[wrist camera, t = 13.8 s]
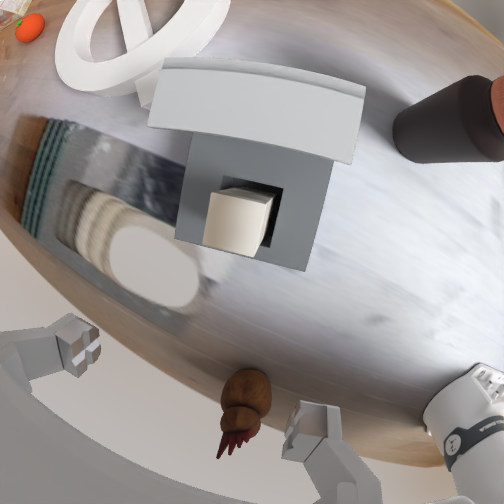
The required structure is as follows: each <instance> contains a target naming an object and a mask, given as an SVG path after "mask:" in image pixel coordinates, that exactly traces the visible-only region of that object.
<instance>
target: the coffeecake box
mask: <svg viewBox="0 0 504 504" xmlns="http://www.w3.org/2000/svg"><path fill="white" fill-rule="evenodd" d="M31 2H32V0H0V30H2V29H4V28H5V27H7V26H8V25H10V24H12V23H13V22H15V21H16V20H18V19H20V18H21V17H23V16H24V14H25V13H26V11H27V9H28V7H29V5H30V3H31Z"/></svg>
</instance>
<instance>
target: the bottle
mask: <svg viewBox="0 0 504 504" xmlns="http://www.w3.org/2000/svg"><path fill="white" fill-rule="evenodd" d="M393 138H394V141H395V143H396V146H397V148H398V149H399V151H400V152H401V154H403V155H404V156H405V157H406V158H407V159H408V160H411V161H413V162H415V163H422V164H426V163H449V162H500V161H503V160H504V76H501V77H498V78H497V79H495V80H494V81H493V82H492V81H491V80H489V79H487V78H485V77H482V76H479V75H473V76H467V77H465V78H463V79H461V80H459V81H457V82H455V83H453V84H452V85H450V86H448V87H446V88H444V89H442V90H440V91H438V92H436V93H435V94H433V95H431V96H429V97H427V98H425V99H424V100H422V101H420V102H418V103H416V104H414V105H413V106H411V107H409V108H407V109H406V110H404V111H402V112H401V113H400V114H398V116H397V118H396V119H395V121H394V125H393Z"/></svg>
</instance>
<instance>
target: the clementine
mask: <svg viewBox="0 0 504 504" xmlns="http://www.w3.org/2000/svg"><path fill="white" fill-rule="evenodd" d="M43 27H44V18H43V16H42V15H40V14H37V13H32V14H29V15H27V16H26V17H24V18H23V19H22V20H19V22H18V23H17V27H16V30H15V35H16V38H17V40H19V41H20V42H29V41H31V40H33V39H35V38H36V37H37V36H38V35H39V34H40V33H41V31H42V30H43Z"/></svg>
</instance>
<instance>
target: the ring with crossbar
mask: <svg viewBox="0 0 504 504" xmlns="http://www.w3.org/2000/svg"><path fill="white" fill-rule="evenodd" d="M112 1H113V0H77V2H76V3H75V4H74V6H73V7H72V9H71V10H70V12H69V14H68V15H67V17H66V19H65V21H64V23H63V25H62V28H61V30H60V33H59V36H58V39H57V43H56V49H55V64H56V69H57V72H58V74H59V76H60V78H61V79H62V81H63V82H64V83H65V84H66V85H68V86H69V87H71V88H73V89H76V90H80V91H83V92H87V93H90V94H94V95H98V96H103V97H116V96H123V95H127V94H131V93H134V92H137V93H138V97H139V101H140V104H141V107H142V108H145V109H147V110H151V106H152V102H153V98H154V94H155V90H156V86H157V83H158V79H159V76H160V72H161V69H162V66H163V63H164V59H165V58H172V57H194V56H195V55H196V54H198V53H199V52H200V51H201V50H202V49H203V48H204V47H205V45H206V44H207V43H208V42H209V41H210V40H211V39H212V37H213V36H214V35H215V33H216V32H217V31H218V29H219V28H220V26H221V24H222V23H223V21H224V19H225V17H226V15H227V12H228V10H229V6H230V2H231V0H185V1H184V3H183V4H182V6H181V7H180V9H179V10H178V11H177V13H176V14H175V15H174V16H173V17H172V19H171V20H170V21H169V22H168V23H167V24H166V25H165V26H164V27H163V28H162V29H160V30H159V31H158V32H157V33H156V34H155V35H153V31H152V28H151V24H150V21H149V17H148V14H147V10H146V7H145V3H144V0H117V4H118V10H119V15H120V20H121V25H122V30H123V35H124V40H125V44H126V49H127V53H126V54H124V55H122V56H120V57H117V58H115V59H112V60H108V61H104V62H94V60H93V58H92V56H91V53H90V38H91V34H92V31H93V28H94V26H95V24H96V22H97V20H98V18H99V17H100V15H101V14H102V12H103V11H104V10H105V8H106V7H107V6H108V5H109V4H110V3H111V2H112Z"/></svg>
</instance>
